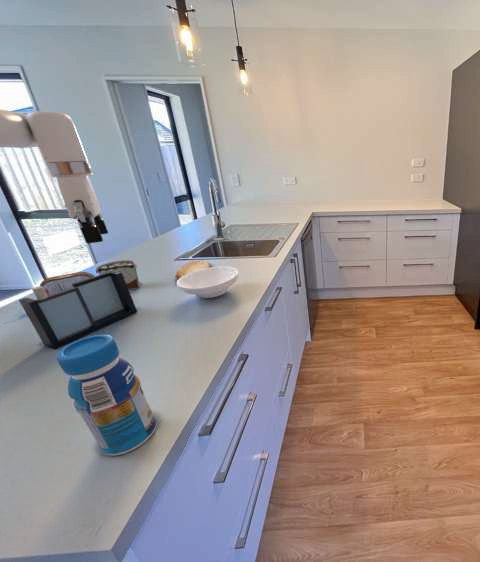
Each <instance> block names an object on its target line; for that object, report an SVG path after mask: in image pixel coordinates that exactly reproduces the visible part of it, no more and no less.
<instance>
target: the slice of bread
mask: <svg viewBox="0 0 480 562" xmlns="http://www.w3.org/2000/svg"><path fill="white" fill-rule="evenodd" d="M211 267H212V266H211V264H210V263H209V262H208V261H204V260H190V261H188V262H187V263H185V264H183V265H181V267H179V269H178V270H177V271H176V274H175V278H176V281H178V280H179V279H180V278H181V277H182V276H184V275H186V274H188V273H191V272H194V271H197V270H201V269H205V268H211Z"/></svg>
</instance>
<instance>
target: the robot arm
mask: <svg viewBox="0 0 480 562" xmlns="http://www.w3.org/2000/svg"><path fill="white" fill-rule="evenodd" d="M77 131H78V130H77V129H76V125H75V123H74V121H73V119H72V118H71V116H69V115H68V114H66V113H64V112H59V111H49V110H46V111H45V110H35V111H33V110H32V111H29V112H28V113H26V112H18V111H11V110H7V109H6V110H5V109H0V148H16V149H17V148H18V149H28V148H37V147H38V149H39V151H40V153H41V155H42V158H43V160H44V163H45V165H46V167H47V169H48V172H49V175H50V176H51V178H56V181H57V185H58V188H59V192H60V194H61V197H62V200H63V203H64V205H65V208H66V210H67V213H68V216H69V218H70V219H72V220H76V219H77V222H78V226H79V228H80V231H81V234H82V236H83V238H84V241H85V243H86V244H94V243H95V244H96V243H102V242H103V241H104V238H103V236H102V235H108V234H109V231H108V228H107V226H106V223H105V221H104V218H103V217H102V214H101V211H102V209H101V206H100V203H99V200H98V198H97V195H96V192H95V189H94V187H93V185H92V182H91V180H90V178H89V176H94V173H93V170H92V168H91V165H90V163H89V160H88V158H87V157H88V156H87V155H86V153H85V150H84V148H83V147H84V146H83V145H82V142H81V139H80V136H79V133H78V132H77Z"/></svg>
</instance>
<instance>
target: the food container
mask: <svg viewBox="0 0 480 562" xmlns="http://www.w3.org/2000/svg"><path fill="white" fill-rule="evenodd" d="M137 269H138V265H137V263H136V262H135V261H134V260H130V259H124V260H123V259H122V260H117V261H115V260H114V261H110V262H107V263H103V264H101V265H98V266H96V267H95V274H98V275H101V274H104V273H106V272H108V271H111V270H112V271H117V272H122V275H123V277H124V280H125V282H126V285H127V287H128V290H129V291H130V290H136V289H141V285H140V281H139V275H138V271H137Z"/></svg>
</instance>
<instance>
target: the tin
mask: <svg viewBox="0 0 480 562" xmlns="http://www.w3.org/2000/svg"><path fill="white" fill-rule="evenodd" d="M95 276H96V275H94V274H92V272H91V273H90V272H88V271H77V272H72V273H66V274H61V275H55V276H50V277H47V278H45V279H43V280H42V281H41V283H39V287H40V286H41V287H42V288H43V289H44V291H45V293H46V295H47V296H50V295H53V294H56V293H59V292H62V291H65V290H68V289H71V288H74V287H73V286H72V284H73V283H76V282H79V281H82V280H85V279H88V278H92V277H95Z"/></svg>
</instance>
